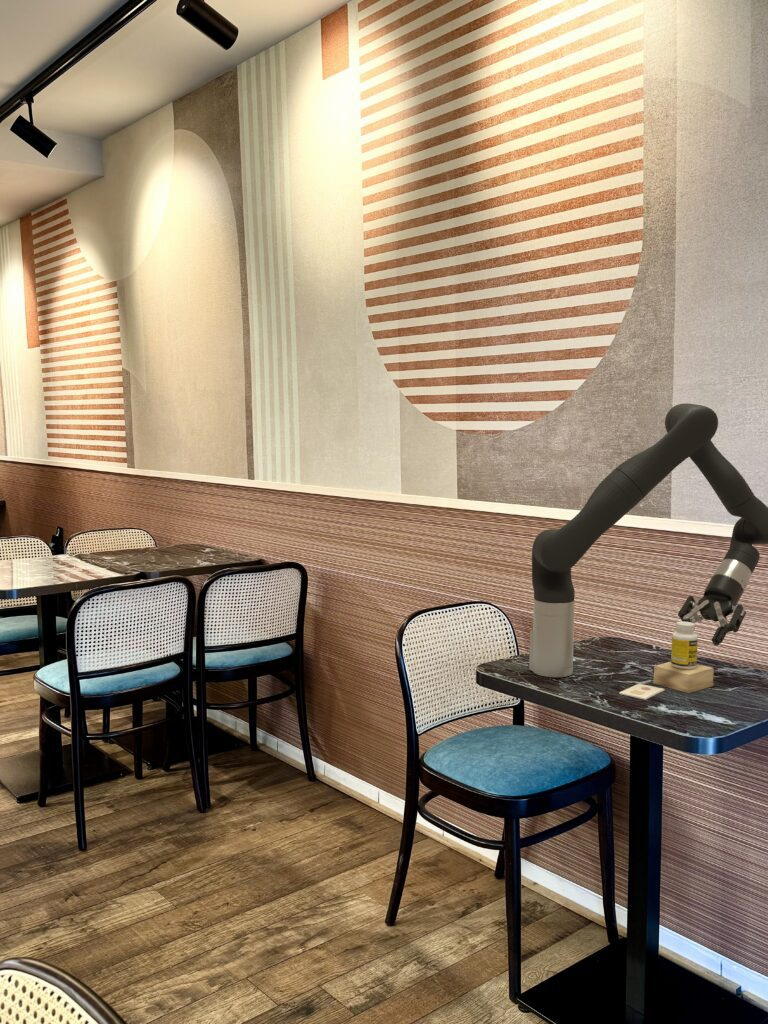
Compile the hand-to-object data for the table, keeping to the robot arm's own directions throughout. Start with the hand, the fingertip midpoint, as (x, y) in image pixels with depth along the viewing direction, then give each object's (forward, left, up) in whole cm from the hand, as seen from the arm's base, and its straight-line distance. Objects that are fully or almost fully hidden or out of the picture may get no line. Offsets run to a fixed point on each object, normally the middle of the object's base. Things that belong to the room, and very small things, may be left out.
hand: (697, 639), depth 201 cm
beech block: (0, -5, -10) cm, 11 cm away
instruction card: (-2, -17, -10) cm, 19 cm away
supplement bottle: (0, -4, -6) cm, 7 cm away
